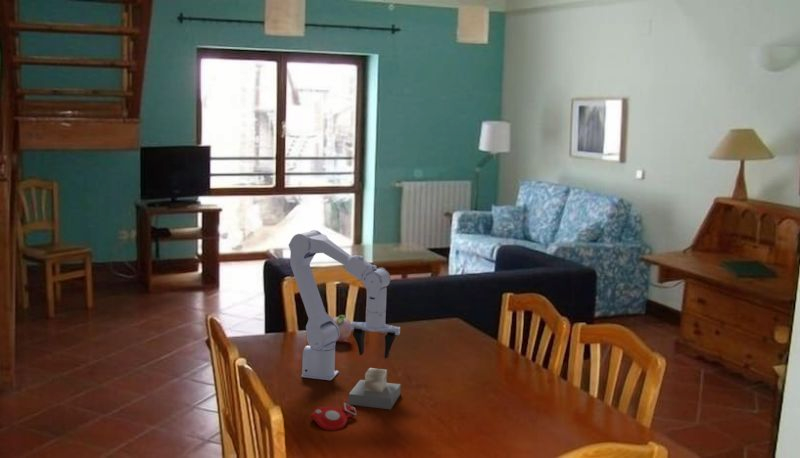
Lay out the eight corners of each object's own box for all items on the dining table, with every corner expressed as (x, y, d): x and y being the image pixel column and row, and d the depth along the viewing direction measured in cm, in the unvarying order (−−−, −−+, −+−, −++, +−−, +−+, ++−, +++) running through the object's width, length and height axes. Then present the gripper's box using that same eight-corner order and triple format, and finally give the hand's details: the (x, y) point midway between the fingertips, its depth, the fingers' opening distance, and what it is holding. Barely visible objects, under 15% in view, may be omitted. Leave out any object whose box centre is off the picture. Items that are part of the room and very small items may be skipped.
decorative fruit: (327, 338, 281) (327, 310, 279) (350, 338, 282) (351, 310, 280) (327, 346, 272) (328, 317, 270) (351, 346, 273) (352, 317, 271)
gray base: (348, 404, 221) (348, 393, 220) (360, 389, 232) (360, 379, 232) (390, 409, 218) (391, 398, 218) (400, 394, 230) (400, 384, 229)
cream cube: (364, 390, 223) (365, 373, 222) (369, 384, 228) (369, 367, 227) (381, 392, 222) (382, 375, 221) (386, 386, 227) (386, 369, 226)
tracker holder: (340, 429, 201) (305, 414, 204) (337, 443, 203) (303, 427, 206) (361, 404, 212) (328, 389, 214) (358, 417, 214) (326, 402, 216)
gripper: (347, 311, 230) (346, 356, 232) (396, 316, 226) (394, 362, 229) (355, 305, 237) (353, 349, 239) (402, 310, 233) (400, 355, 235)
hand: (374, 355), depth 234 cm, fingers open, 7 cm apart
